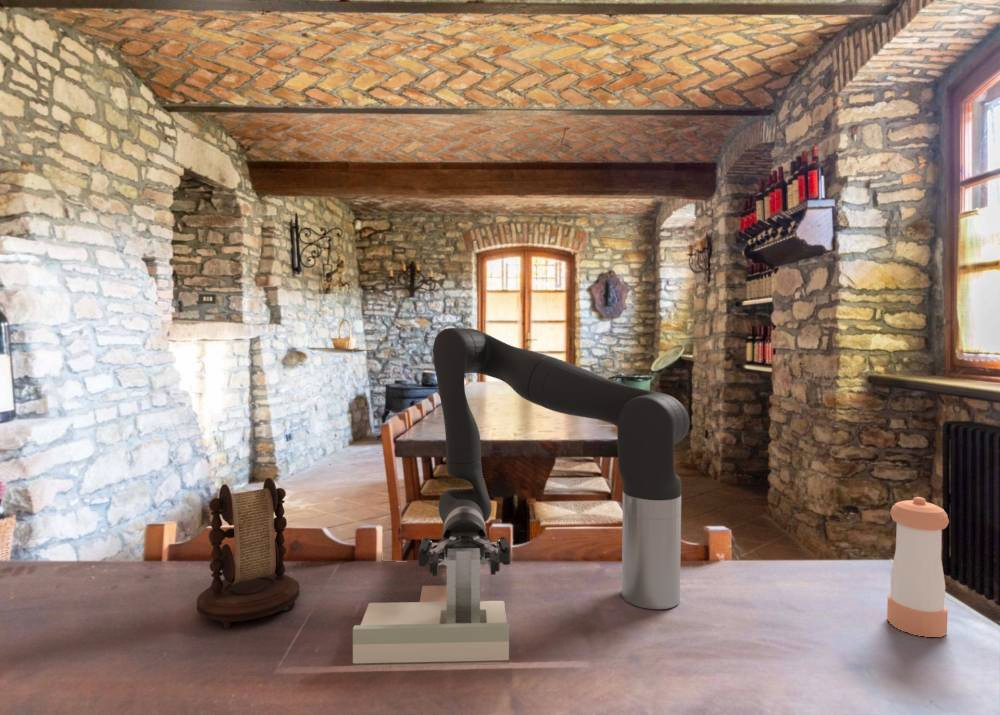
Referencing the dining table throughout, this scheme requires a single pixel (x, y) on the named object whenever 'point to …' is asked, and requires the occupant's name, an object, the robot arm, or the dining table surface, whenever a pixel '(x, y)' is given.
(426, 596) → the tile
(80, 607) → the dining table surface
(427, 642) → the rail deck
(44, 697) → the dining table surface
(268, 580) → the scroll
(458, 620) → the clip
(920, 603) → the salt shaker
